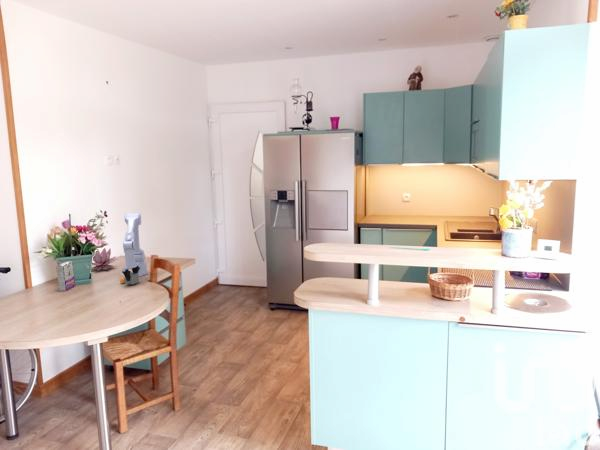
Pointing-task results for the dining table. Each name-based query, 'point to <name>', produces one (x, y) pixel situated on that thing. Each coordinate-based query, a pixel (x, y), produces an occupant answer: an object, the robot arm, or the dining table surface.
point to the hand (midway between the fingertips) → (131, 279)
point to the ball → (122, 280)
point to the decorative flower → (103, 260)
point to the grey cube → (133, 278)
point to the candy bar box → (65, 276)
